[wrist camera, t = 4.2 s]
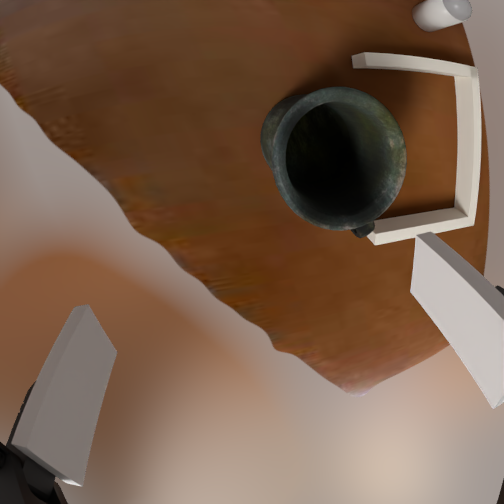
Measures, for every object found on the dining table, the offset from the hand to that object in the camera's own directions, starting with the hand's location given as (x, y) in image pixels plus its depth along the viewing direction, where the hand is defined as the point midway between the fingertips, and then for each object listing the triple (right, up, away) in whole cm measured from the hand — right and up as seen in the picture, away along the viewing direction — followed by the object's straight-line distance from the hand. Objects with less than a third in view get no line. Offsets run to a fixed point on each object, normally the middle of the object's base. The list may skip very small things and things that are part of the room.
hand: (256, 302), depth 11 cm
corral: (+21, +15, +21) cm, 33 cm away
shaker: (+21, +31, +12) cm, 39 cm away
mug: (+7, +13, +21) cm, 25 cm away
